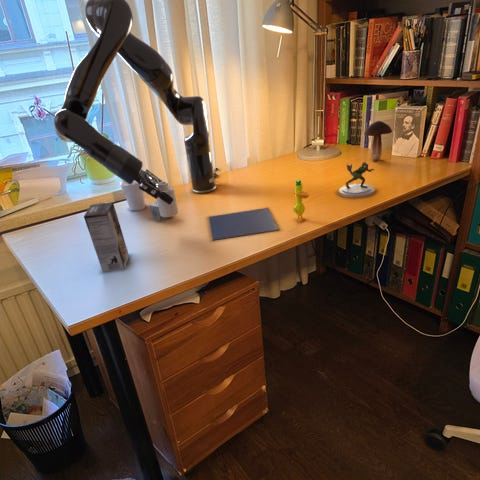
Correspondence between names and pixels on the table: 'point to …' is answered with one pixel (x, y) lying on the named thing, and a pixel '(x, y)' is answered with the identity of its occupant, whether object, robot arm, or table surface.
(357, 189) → the monster figurine
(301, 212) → the toy figure
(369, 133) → the decorative mushroom
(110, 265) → the coffee box
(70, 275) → the table surface
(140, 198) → the dixie cup
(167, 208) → the white vase
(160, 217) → the dice cube
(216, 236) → the paper sheet
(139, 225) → the table surface
